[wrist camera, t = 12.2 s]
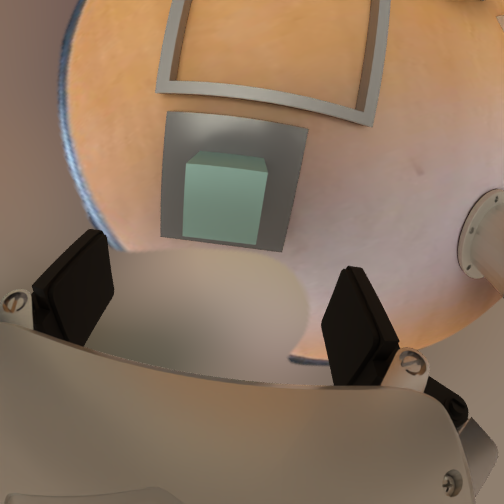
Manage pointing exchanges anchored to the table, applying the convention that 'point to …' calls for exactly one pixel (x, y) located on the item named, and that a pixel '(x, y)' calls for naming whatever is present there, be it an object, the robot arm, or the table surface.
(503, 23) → the bracket
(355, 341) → the robot arm
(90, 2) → the table surface
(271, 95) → the low bin
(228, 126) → the slate board
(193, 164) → the teal cube
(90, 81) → the table surface
